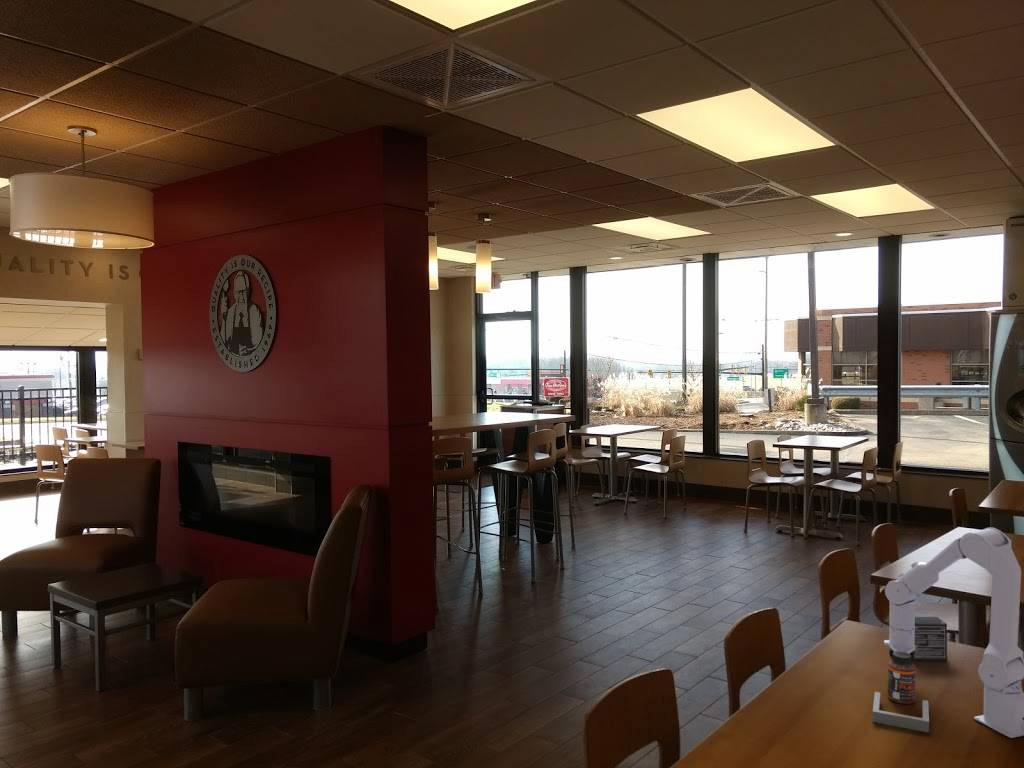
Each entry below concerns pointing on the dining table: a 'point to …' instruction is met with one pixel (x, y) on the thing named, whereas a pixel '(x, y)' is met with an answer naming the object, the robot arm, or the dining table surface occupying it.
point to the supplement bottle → (901, 678)
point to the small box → (930, 639)
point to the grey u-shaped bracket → (901, 717)
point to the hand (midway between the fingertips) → (901, 679)
